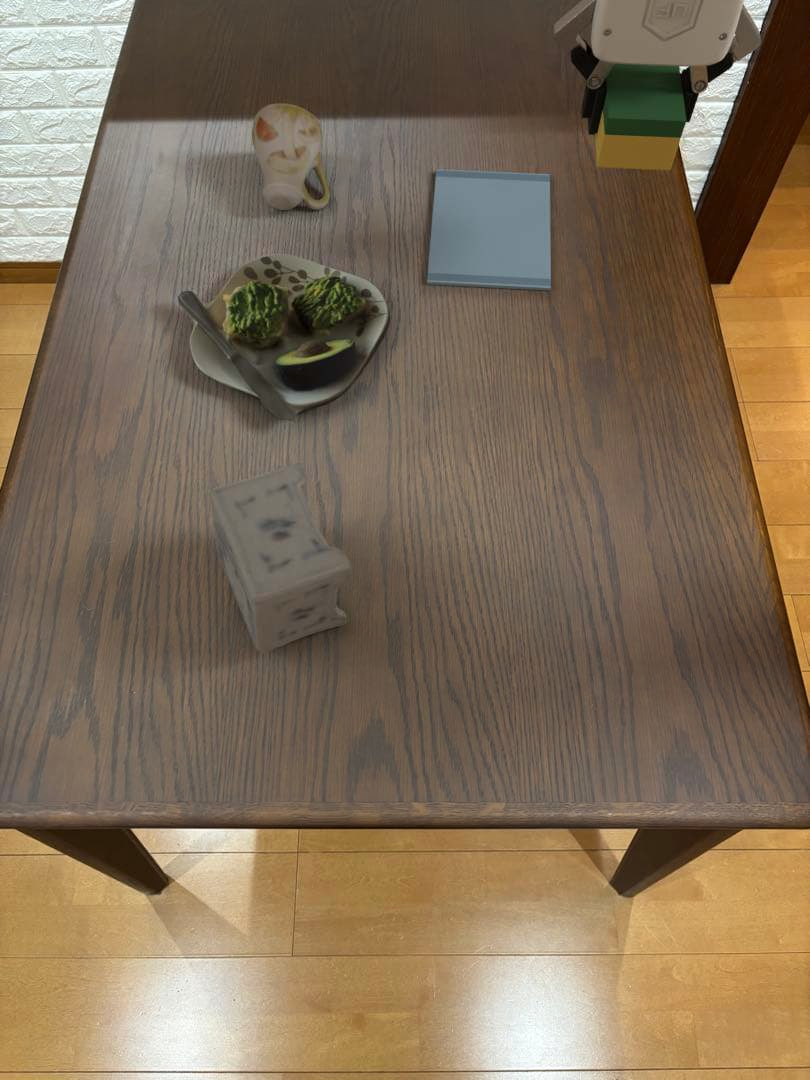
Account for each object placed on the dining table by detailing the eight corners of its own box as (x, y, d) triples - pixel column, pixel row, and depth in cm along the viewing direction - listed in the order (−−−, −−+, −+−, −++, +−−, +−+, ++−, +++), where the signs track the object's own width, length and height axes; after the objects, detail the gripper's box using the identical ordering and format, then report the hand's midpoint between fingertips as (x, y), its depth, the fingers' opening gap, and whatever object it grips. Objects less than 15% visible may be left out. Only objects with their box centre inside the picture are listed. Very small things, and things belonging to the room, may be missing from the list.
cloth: (549, 177, 87) (550, 173, 87) (550, 291, 80) (550, 287, 80) (436, 172, 88) (436, 168, 87) (426, 284, 80) (427, 281, 80)
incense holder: (361, 619, 65) (352, 562, 55) (261, 662, 63) (235, 611, 54) (313, 519, 69) (298, 450, 59) (218, 557, 67) (188, 493, 58)
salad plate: (135, 368, 76) (119, 334, 72) (237, 242, 83) (228, 204, 79) (318, 446, 72) (313, 415, 68) (409, 306, 79) (409, 270, 75)
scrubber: (592, 96, 72) (603, 45, 68) (662, 99, 71) (677, 48, 67) (596, 167, 67) (608, 117, 63) (670, 170, 67) (686, 120, 63)
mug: (251, 225, 84) (222, 118, 79) (282, 201, 92) (258, 102, 87) (319, 216, 82) (294, 105, 77) (345, 192, 90) (324, 90, 84)
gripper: (565, -100, 51) (528, 151, 67) (846, -91, 51) (741, 160, 67) (563, -161, 55) (528, 92, 71) (827, -154, 54) (731, 100, 70)
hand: (632, 123), depth 69 cm, fingers closed on scrubber, 6 cm apart
